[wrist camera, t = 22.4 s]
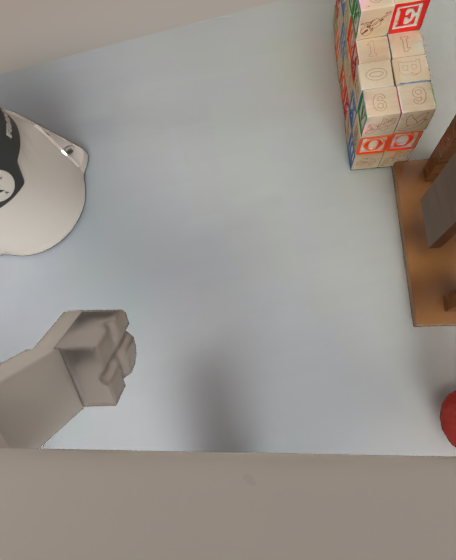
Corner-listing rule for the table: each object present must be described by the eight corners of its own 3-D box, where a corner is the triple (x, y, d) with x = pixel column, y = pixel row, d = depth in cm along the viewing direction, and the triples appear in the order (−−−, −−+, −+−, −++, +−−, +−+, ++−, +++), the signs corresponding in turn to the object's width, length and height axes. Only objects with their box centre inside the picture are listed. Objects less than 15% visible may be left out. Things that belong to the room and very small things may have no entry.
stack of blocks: (407, 166, 43) (450, 84, 31) (349, 172, 44) (370, 94, 32) (382, 17, 49) (411, -100, 37) (331, 24, 50) (344, -87, 38)
